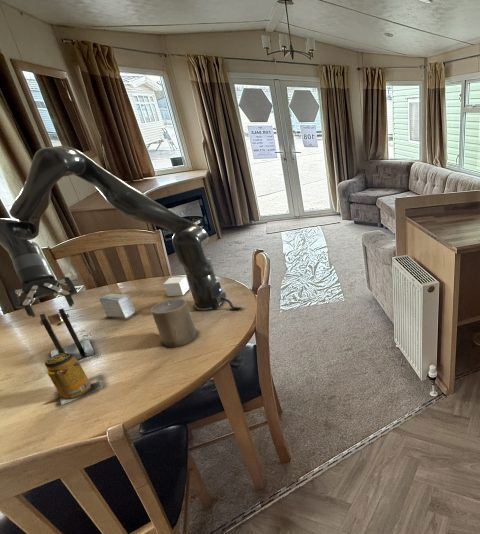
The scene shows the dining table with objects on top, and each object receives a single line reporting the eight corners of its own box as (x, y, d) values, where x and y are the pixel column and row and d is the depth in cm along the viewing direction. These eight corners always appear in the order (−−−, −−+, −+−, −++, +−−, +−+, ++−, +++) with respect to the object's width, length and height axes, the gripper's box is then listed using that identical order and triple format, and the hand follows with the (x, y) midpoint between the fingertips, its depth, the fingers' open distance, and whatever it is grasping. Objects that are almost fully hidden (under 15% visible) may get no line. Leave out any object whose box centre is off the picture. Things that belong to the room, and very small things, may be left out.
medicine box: (137, 314, 132) (129, 294, 128) (126, 320, 128) (118, 300, 124) (118, 312, 132) (110, 293, 129) (107, 318, 128) (98, 298, 125)
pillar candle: (202, 335, 120) (191, 299, 114) (172, 351, 112) (158, 312, 106) (187, 327, 124) (175, 292, 118) (157, 341, 116) (142, 304, 110)
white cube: (189, 288, 151) (185, 276, 149) (183, 295, 146) (179, 282, 144) (173, 289, 150) (169, 277, 148) (167, 296, 145) (163, 283, 142)
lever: (53, 328, 111) (48, 318, 111) (68, 324, 114) (63, 314, 113) (48, 326, 101) (43, 315, 101) (65, 321, 104) (60, 310, 103)
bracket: (51, 354, 109) (28, 312, 103) (89, 341, 116) (70, 301, 109) (56, 371, 102) (31, 327, 96) (96, 356, 109) (76, 315, 102)
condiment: (58, 392, 95) (38, 358, 90) (99, 376, 101) (82, 343, 96) (61, 405, 91) (41, 371, 86) (103, 388, 97) (86, 354, 92)
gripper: (-3, 271, 106) (17, 315, 104) (61, 258, 116) (80, 298, 115) (4, 281, 111) (23, 323, 110) (65, 268, 122) (84, 306, 120)
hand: (53, 310), depth 112 cm, fingers open, 8 cm apart
